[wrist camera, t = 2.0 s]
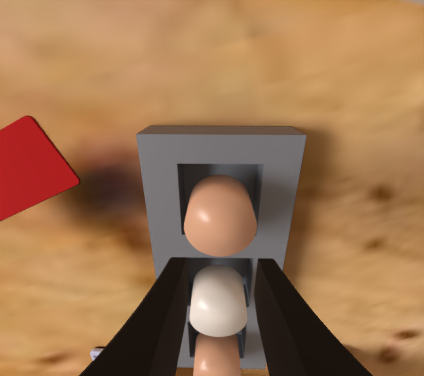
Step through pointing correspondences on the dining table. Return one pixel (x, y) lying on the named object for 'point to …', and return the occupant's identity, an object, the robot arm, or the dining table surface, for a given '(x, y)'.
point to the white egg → (218, 301)
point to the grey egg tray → (258, 192)
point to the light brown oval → (220, 216)
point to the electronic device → (30, 167)
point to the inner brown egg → (216, 356)
